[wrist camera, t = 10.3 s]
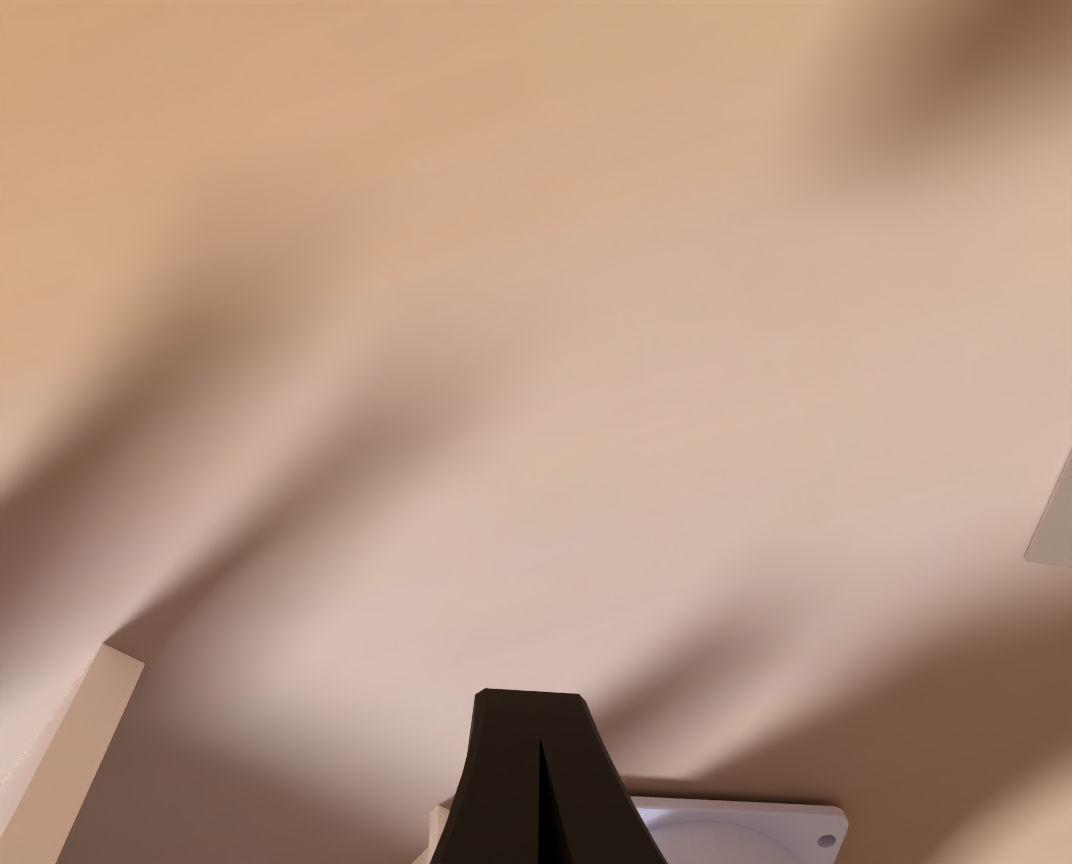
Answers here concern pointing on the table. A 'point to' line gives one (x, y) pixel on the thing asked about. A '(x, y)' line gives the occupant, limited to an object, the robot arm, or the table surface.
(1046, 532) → the ramp plate
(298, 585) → the table surface
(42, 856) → the storage container
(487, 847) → the robot arm
